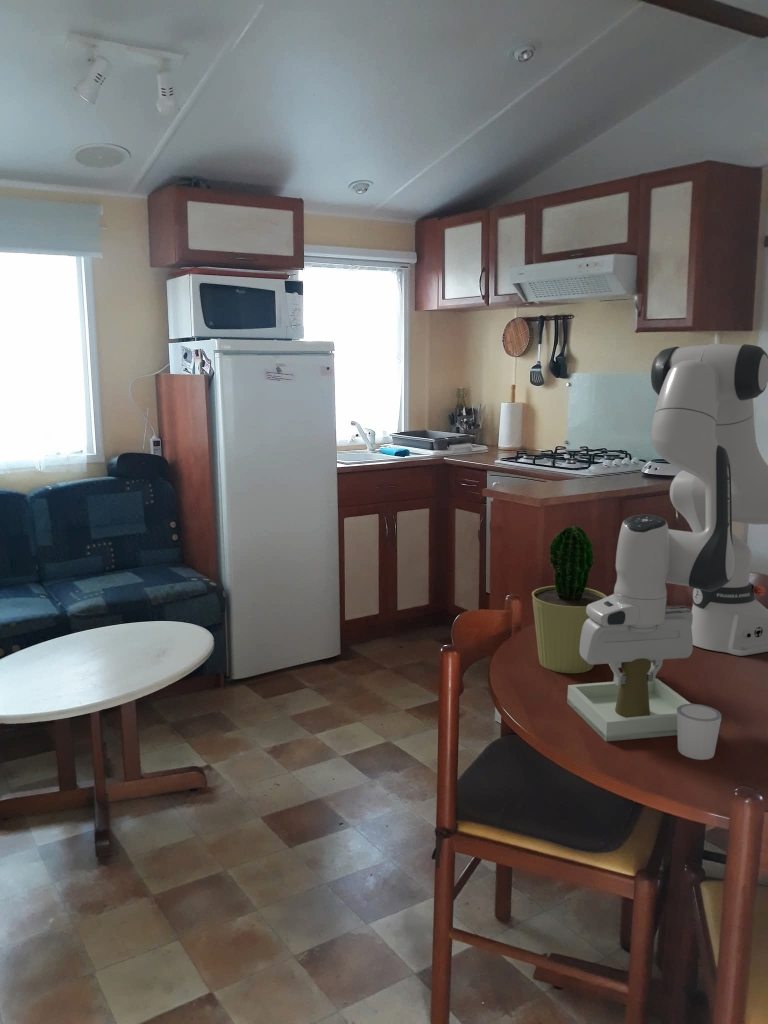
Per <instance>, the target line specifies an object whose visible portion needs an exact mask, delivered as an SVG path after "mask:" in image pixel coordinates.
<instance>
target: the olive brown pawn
mask: <svg viewBox="0 0 768 1024" xmlns="http://www.w3.org/2000/svg"><path fill="white" fill-rule="evenodd" d="M651 663H652V662H651V661H650V660H648V659H645V658H643V659H636V660H633V661H632V662H622V663H621V670H622V673H623V675H625V676H626V681H625V682H626V684H625V685H620V688H619V693H618V698H617V703H616V708H615V712H616V713H617V714H618V715H620V716H622V717H625V718H629V717H640V716H650V707H649V694H648V680H647V673H648V672H649V670H650V668H651Z"/></svg>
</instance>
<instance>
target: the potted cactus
mask: <svg viewBox="0 0 768 1024" xmlns="http://www.w3.org/2000/svg"><path fill="white" fill-rule="evenodd" d="M583 528H584V527H579V526H578V525H574V524H571V525H569V526H568V527H565V528H564V527H562V528H559V530H560V533H558V534H555V537H554V536H553V540H552V541H551V542H550V541H549V540H548V541H547V542H546V543H550V544H549V545H550V547H549V548H547V549H548V550H549V554H548V555H546V557H550V559H549V560H546V562H549V561H550V563H549V564H548V566H549V567H552V568H550V571H551V570H553V571H552V572H551V573H553V574H554V578H553V579H552V581H554V585H548V586H543V587H539V588H536V589H534V590H533V591H532V592H531V597H532V608H533V615H534V625H535V626H534V627H535V634H536V644H537V653H538V661H539V664H540V665H541V666H542V667H543V668H545V669H547V670H550V671H552V672H557V673H562V674H563V673H564V674H581V673H586V672H589V671H591V670H593V668H594V666H595V664H593V665H591V664H589V663H587V662H586V661H585V660H584V659H583V658H582V657H581V655H580V652H579V649H580V638H581V632H582V627H583V624H584V622H585V621H586V620H587V619H588V618H590V617H589V616H588V615H587V614H586V607H587V605H589V604H590V603H593V602H596V601H598V600H601V599H603V598H606V597H608V596H607V595H606V594H604V592H602V591H601V592H600V591H599V590H595V589H591V588H589V587H588V584H590V581H592V580H591V579H589V574H590V573H592V568H593V570H595V569H596V568H595V567H593V566H594V564H595V562H594V552H596V551H597V550H596V549H593V543H594V539H593V540H592V539H591V538H590V537H591V536H590V535H587V533H586V532H585V531H586V530H587V529H586V528H585V529H583ZM593 575H596V574H594V573H593ZM588 581H589V582H588Z"/></svg>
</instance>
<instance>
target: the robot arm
mask: <svg viewBox="0 0 768 1024" xmlns="http://www.w3.org/2000/svg"><path fill="white" fill-rule="evenodd" d="M650 380H651V386H652V389H653V391H654V392H655V393H656V394H657V395H658V397H657V401H656V406H655V408H654V415H653V419H652V424H651V430H650V431H651V433H650V437H651V438H650V440H651V443H652V446H653V448H654V450H655V451H656V453H657V454H658V456H660V457H661V458H662V459H663V460H665V461H666V462H667V463H669V464H670V465H672V466H674V467H675V468H677V469H679V470H680V471H679V472H678V473H677V474H676V475H675V476H674V477H673V479H672V481H671V483H670V488H669V498H670V501H671V504H672V506H673V507H674V509H675V510H676V511H677V512H678V513H680V515H681V516H683V518H684V519H685V520H686V522H687V524H689V527H690V529H691V530H692V531H685V530H679V529H671V528H669V525H668V522H667V520H666V519H664V518H663V517H661V516H659V515H653V514H647V513H646V514H636V515H631V516H629V517H627V518H625V519H624V520H623V521H622V523H621V525H620V526H621V527H620V530H619V533H618V534H619V535H618V540H617V547H616V552H615V553H616V554H615V571H616V582H615V584H614V588H613V593H612V594H610V595H608V596H607V597H606V598H603V599H601V600H598V601H596V602H593V603H590V604H589V605H587V607H586V614H587V615H588V616H589V617H590V618H588V619H587V620H586V621H585V622H584V624H583V627H582V632H581V638H580V649H579V652H580V655H581V657H582V658H583V659H584V660H585V661H586V662H587V663H589V664H591V665H593V664H594V665H603V664H606V665H607V664H608V665H609V666H608V667H610V670H611V671H612V673H613V682H614V683H615V684H616V685H617V686H620V685H625V684H626V682H625V681H626V676H625V675H623V672H621V671H620V668H621V663H622V662H632V661H633V660H636V659H643V658H645V659H648V660H650V661H651V668H650V670H649V672H648V673H647V680H648V683H655V678H657V677H656V675H657V674H658V672H659V671H660V669H661V668H662V666H663V663H664V662H663V661H664V660H674V659H687V658H689V657H690V656H691V654H692V653H693V649H694V648H693V646H695V647H698V648H700V649H705V650H709V651H714V652H721V653H727V654H730V655H734V656H740V657H744V656H749V655H755V654H761V653H765V652H768V608H766V607H765V606H764V605H763V604H762V603H761V602H759V601H758V600H757V599H756V596H755V594H757V595H758V596H759V597H760V596H761V597H763V596H764V595H765V594H766V591H767V590H766V588H765V587H763V586H761V585H759V584H756V585H754V584H753V583H752V582H750V579H751V578H750V577H751V566H752V556H753V553H752V551H751V549H750V546H749V545H748V544H747V543H746V542H745V541H744V540H743V539H742V538H740V537H739V536H737V535H736V534H734V533H733V528H732V527H733V525H732V524H733V523H742V524H748V525H754V526H755V525H758V526H759V525H768V464H767V463H766V461H765V460H764V458H763V456H762V454H761V453H760V450H759V447H758V444H757V437H756V428H755V414H754V412H755V410H754V400H753V399H756V398H757V397H759V396H760V395H762V394H763V393H764V391H766V389H767V386H768V353H767V352H766V350H764V348H763V347H761V346H757V345H754V344H753V345H752V344H747V343H743V344H742V345H740V344H731V343H729V344H727V343H709V344H703V345H702V344H701V345H689V346H683V347H682V346H681V347H680V346H672V347H668V348H664V349H662V350H661V351H660V352H659V353H658V354H657V355H656V356H655V357H654V359H653V362H652V364H651V371H650ZM732 522H733V523H732ZM666 584H673V585H679V586H686V587H690V588H692V607H691V609H689V608H687V607H686V606H685V605H678V606H667V596H668V592H667V587H666ZM621 669H622V668H621Z"/></svg>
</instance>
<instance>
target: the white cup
mask: <svg viewBox="0 0 768 1024" xmlns="http://www.w3.org/2000/svg"><path fill="white" fill-rule="evenodd" d="M721 721H722V713H721V712H720V711H719V710H718V709H716V708H713V707H711V706H709V705H704V704H700V703H699V704H698V703H691V704H684V705H680V706H679V707H678V708H677V735H676V736H677V751H678V752H679V753H680V754H681V755H682V756H685V757H686V758H688V759H689V758H690V759H693V760H700V761H705V760H710V759H713V758H714V756H715V753H716V749H717V748H716V747H717V743H718V737H719V731H720V728H721Z"/></svg>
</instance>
